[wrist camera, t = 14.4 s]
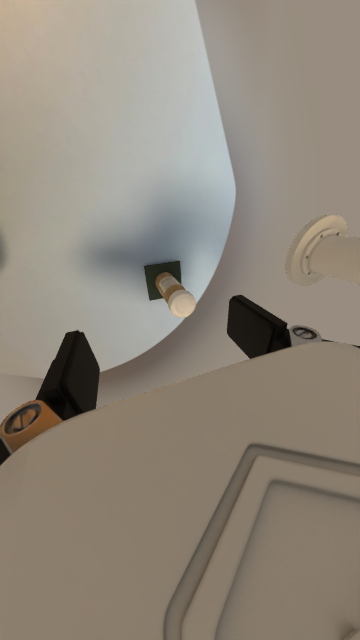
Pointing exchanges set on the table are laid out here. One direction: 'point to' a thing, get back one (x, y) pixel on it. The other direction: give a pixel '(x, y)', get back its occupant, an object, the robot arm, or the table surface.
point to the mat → (156, 270)
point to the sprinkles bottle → (175, 295)
